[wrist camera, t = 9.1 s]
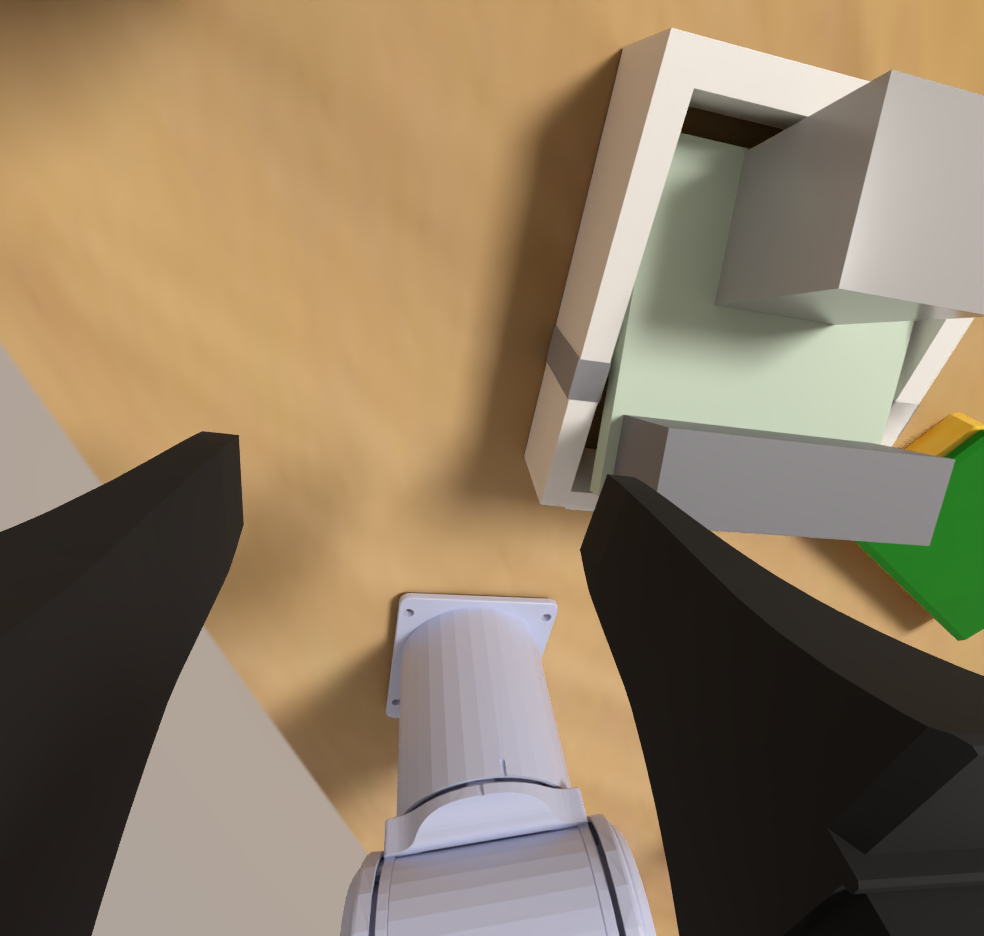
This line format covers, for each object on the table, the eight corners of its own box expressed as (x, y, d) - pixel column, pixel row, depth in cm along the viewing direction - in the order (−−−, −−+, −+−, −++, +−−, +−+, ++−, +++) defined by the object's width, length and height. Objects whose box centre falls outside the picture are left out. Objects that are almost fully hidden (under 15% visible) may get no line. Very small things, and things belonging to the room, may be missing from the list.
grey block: (834, 325, 18) (993, 316, 13) (714, 305, 17) (838, 288, 12) (869, 180, 17) (1054, 115, 12) (744, 151, 16) (892, 69, 11)
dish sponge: (949, 404, 25) (997, 428, 23) (1043, 539, 30) (1088, 568, 28) (817, 506, 27) (850, 536, 25) (927, 612, 33) (961, 644, 31)
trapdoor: (843, 511, 21) (939, 546, 17) (589, 490, 19) (636, 525, 15) (925, 201, 18) (1056, 164, 15) (648, 138, 16) (720, 78, 13)
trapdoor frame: (789, 483, 25) (838, 529, 22) (522, 458, 23) (538, 507, 20) (980, 139, 18) (1089, 140, 15) (621, 46, 16) (669, 27, 13)
